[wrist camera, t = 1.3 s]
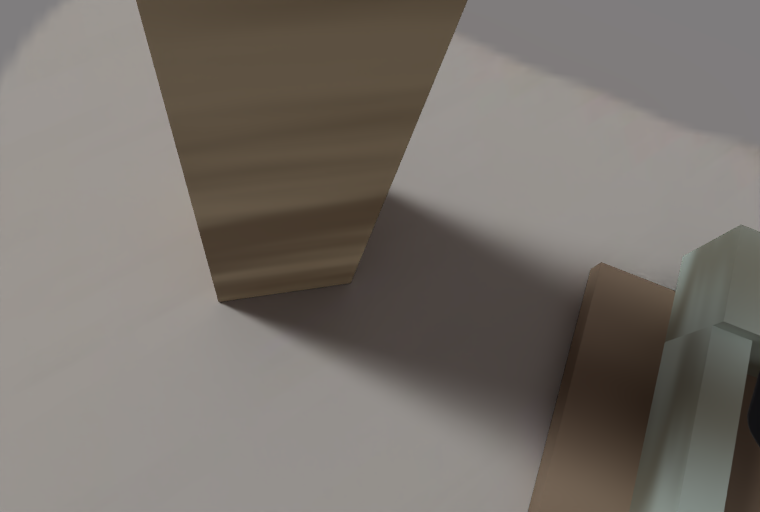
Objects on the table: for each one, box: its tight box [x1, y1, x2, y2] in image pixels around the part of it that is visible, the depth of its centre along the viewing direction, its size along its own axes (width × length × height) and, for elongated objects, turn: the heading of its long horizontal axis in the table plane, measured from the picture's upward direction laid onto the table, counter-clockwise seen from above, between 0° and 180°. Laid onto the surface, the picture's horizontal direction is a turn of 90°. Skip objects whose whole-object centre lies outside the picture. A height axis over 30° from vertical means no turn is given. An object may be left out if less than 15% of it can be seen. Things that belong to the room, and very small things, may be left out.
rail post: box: [136, 0, 467, 302], centre depth 15 cm, size 4×4×15 cm
